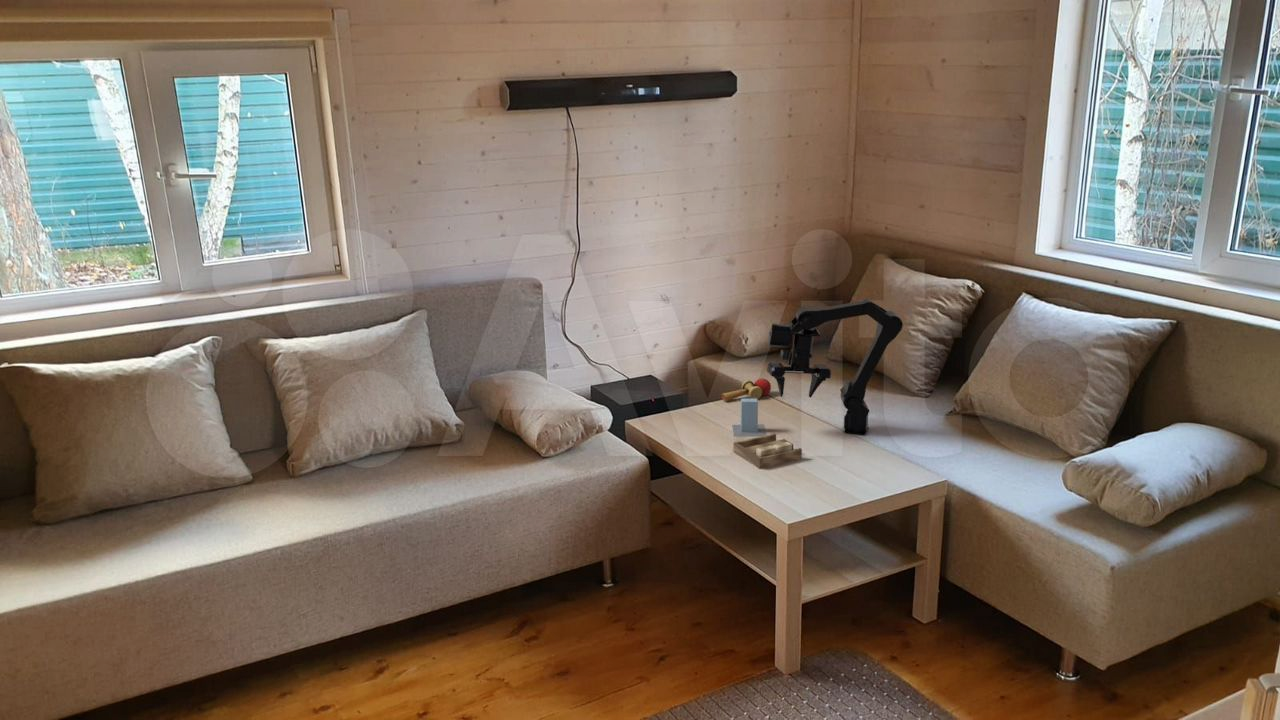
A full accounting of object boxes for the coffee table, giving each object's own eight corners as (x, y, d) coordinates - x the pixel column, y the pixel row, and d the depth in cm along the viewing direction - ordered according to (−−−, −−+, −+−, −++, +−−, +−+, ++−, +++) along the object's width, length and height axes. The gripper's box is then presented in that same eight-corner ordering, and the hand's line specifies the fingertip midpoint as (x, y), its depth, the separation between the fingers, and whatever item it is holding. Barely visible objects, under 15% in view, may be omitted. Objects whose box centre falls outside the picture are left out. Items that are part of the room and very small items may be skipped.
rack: (774, 444, 289) (774, 433, 288) (801, 460, 277) (801, 449, 276) (733, 454, 283) (733, 442, 282) (759, 470, 271) (759, 458, 270)
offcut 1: (770, 459, 277) (771, 445, 275) (775, 462, 275) (775, 447, 273) (756, 463, 274) (756, 448, 273) (760, 466, 273) (760, 451, 271)
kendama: (731, 409, 323) (777, 394, 329) (727, 391, 322) (773, 376, 328) (721, 406, 330) (766, 391, 336) (717, 388, 329) (762, 374, 335)
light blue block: (756, 428, 300) (757, 398, 297) (757, 432, 297) (757, 401, 294) (740, 428, 301) (740, 398, 298) (741, 432, 298) (741, 401, 295)
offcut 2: (787, 456, 279) (787, 441, 278) (791, 458, 277) (791, 444, 276) (772, 459, 277) (772, 445, 275) (777, 462, 275) (777, 447, 274)
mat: (763, 426, 304) (763, 424, 304) (766, 438, 294) (766, 436, 294) (732, 426, 304) (732, 424, 304) (734, 438, 295) (734, 436, 294)
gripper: (823, 341, 300) (816, 388, 305) (765, 339, 297) (759, 387, 302) (834, 352, 290) (827, 401, 294) (775, 350, 287) (768, 399, 291)
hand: (795, 396), depth 296 cm, fingers open, 9 cm apart
